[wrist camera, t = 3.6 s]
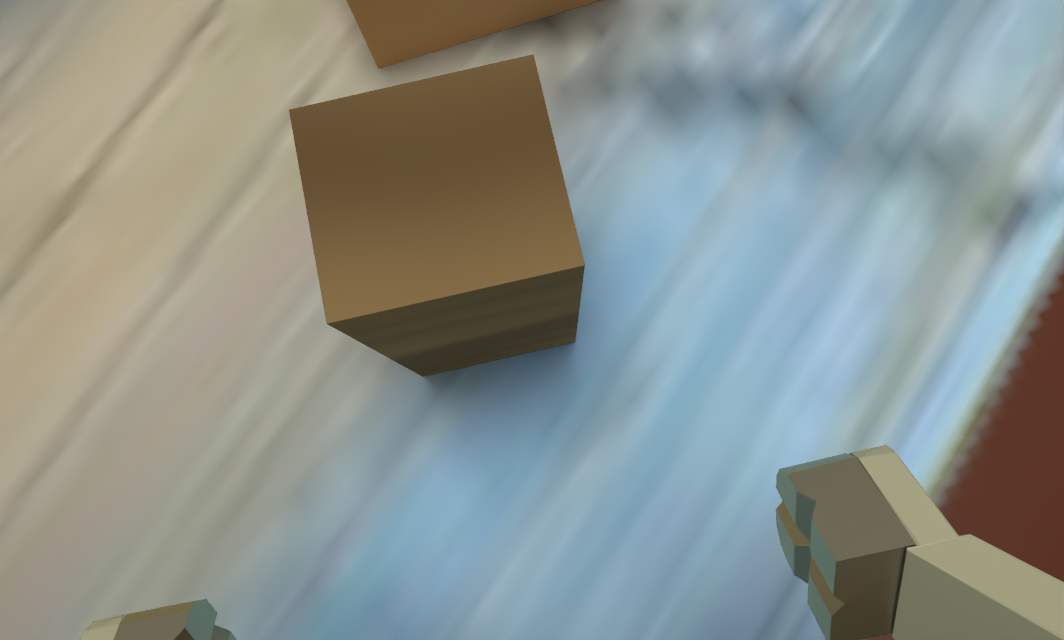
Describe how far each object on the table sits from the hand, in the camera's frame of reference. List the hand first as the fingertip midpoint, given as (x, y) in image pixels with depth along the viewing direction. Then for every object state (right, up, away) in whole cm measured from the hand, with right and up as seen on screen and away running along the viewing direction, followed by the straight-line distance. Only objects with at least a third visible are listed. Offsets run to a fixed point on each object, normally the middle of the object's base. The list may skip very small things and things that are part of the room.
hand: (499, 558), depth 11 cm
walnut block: (-1, +4, +11) cm, 12 cm away
